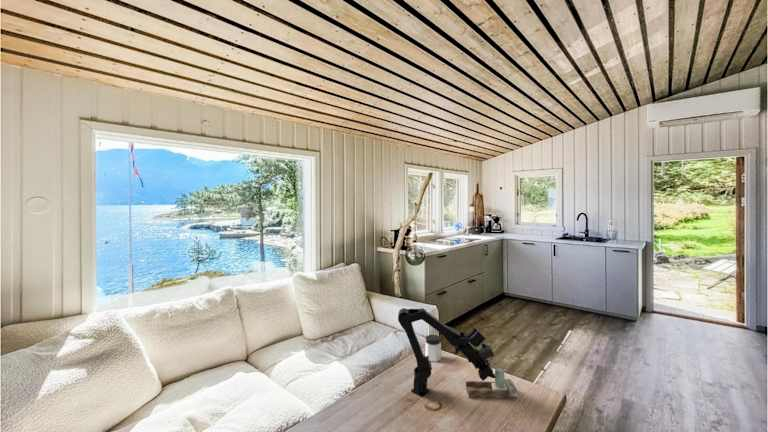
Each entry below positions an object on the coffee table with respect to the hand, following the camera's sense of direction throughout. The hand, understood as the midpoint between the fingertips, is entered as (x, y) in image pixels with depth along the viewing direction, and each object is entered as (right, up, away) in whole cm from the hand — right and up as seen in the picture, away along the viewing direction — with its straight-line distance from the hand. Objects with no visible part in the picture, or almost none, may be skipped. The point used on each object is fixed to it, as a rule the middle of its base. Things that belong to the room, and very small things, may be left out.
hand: (494, 377), depth 146 cm
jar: (-23, -7, +35) cm, 43 cm away
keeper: (+2, -6, 0) cm, 6 cm away
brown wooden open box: (-2, -8, 0) cm, 8 cm away
